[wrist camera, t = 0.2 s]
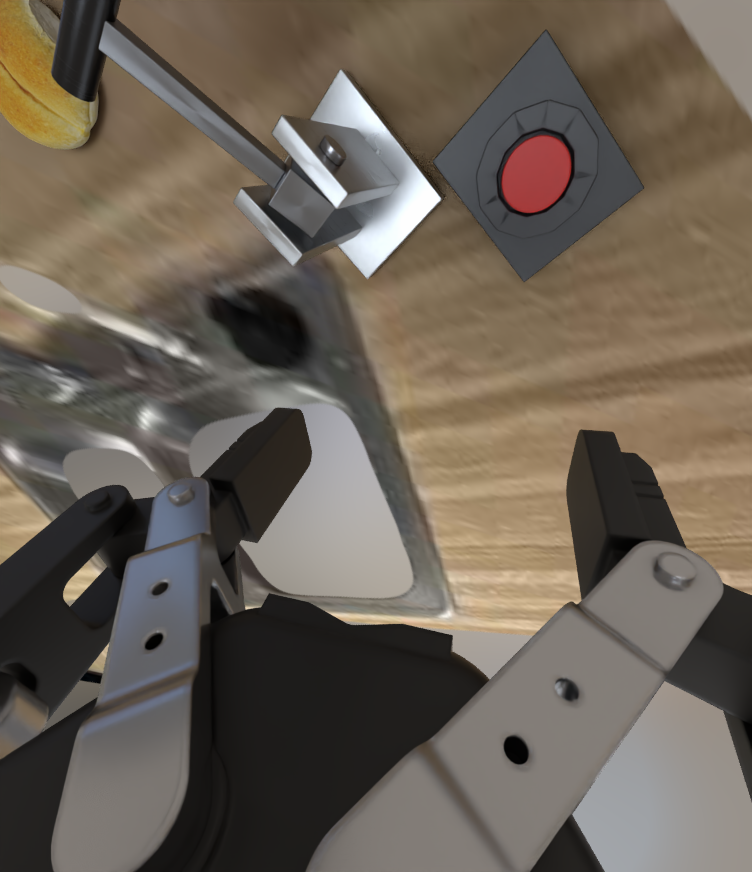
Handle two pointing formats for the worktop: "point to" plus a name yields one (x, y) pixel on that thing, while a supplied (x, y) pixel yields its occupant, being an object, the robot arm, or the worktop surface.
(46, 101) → the bread roll
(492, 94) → the button block
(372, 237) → the lever bracket
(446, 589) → the worktop surface
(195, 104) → the press lever
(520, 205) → the button
